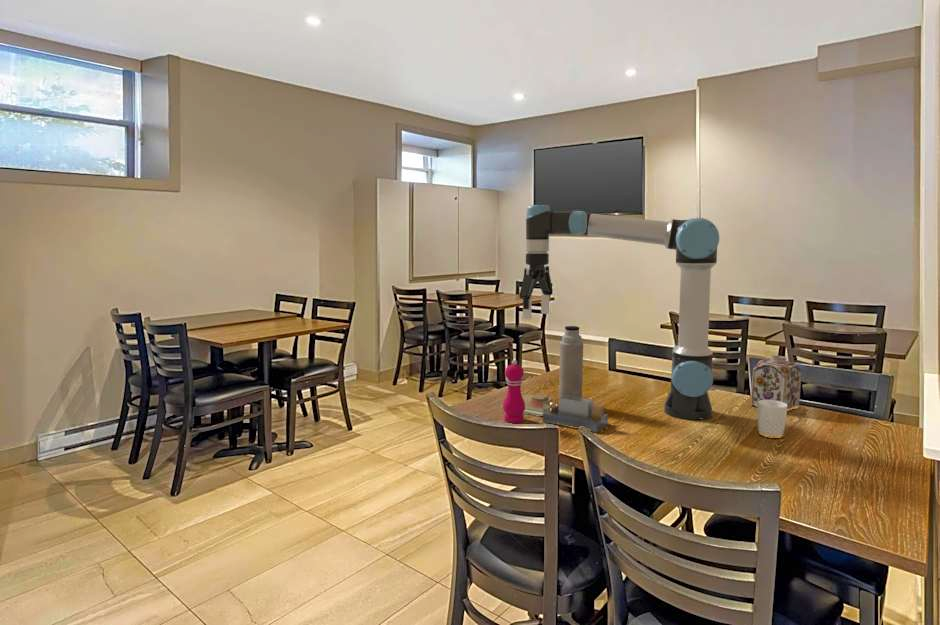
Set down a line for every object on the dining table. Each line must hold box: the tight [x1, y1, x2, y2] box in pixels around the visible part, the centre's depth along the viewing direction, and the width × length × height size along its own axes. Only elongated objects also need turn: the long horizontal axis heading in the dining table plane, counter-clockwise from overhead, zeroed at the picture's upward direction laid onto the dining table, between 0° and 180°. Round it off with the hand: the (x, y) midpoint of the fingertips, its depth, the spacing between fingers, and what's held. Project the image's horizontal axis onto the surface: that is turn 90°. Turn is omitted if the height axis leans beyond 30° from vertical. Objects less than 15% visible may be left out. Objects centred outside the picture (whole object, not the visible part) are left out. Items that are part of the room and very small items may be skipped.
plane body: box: [542, 395, 609, 434], centre depth 189 cm, size 18×10×8 cm, turn 58°
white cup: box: [757, 400, 788, 436], centre depth 177 cm, size 8×8×10 cm
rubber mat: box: [522, 409, 549, 417], centre depth 202 cm, size 11×11×1 cm
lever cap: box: [522, 393, 553, 412], centre depth 202 cm, size 10×7×4 cm
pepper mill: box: [502, 359, 525, 424], centre depth 191 cm, size 7×7×20 cm
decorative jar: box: [750, 355, 802, 409], centre depth 205 cm, size 12×12×18 cm
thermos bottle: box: [558, 325, 584, 399], centre depth 206 cm, size 8×8×28 cm
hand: (536, 316), depth 198 cm, fingers open, 13 cm apart
